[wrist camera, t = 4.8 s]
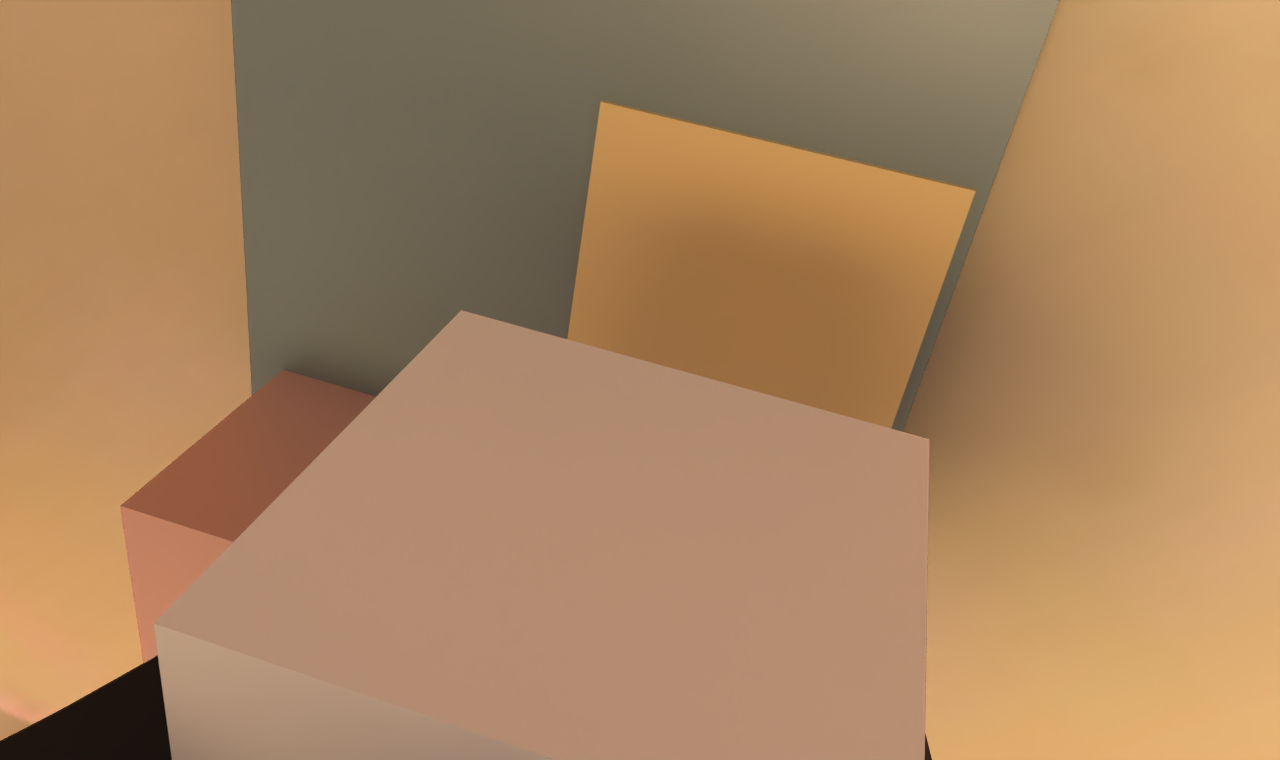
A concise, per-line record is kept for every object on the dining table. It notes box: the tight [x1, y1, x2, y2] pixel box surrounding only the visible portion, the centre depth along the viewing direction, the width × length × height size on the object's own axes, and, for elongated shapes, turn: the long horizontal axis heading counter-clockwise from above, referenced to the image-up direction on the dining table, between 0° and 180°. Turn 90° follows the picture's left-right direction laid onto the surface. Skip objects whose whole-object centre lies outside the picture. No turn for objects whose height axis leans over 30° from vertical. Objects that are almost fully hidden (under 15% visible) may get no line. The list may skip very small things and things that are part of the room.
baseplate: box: [231, 0, 1059, 431], centre depth 17 cm, size 12×20×1 cm, turn 171°
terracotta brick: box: [120, 370, 376, 663], centre depth 18 cm, size 5×6×4 cm
